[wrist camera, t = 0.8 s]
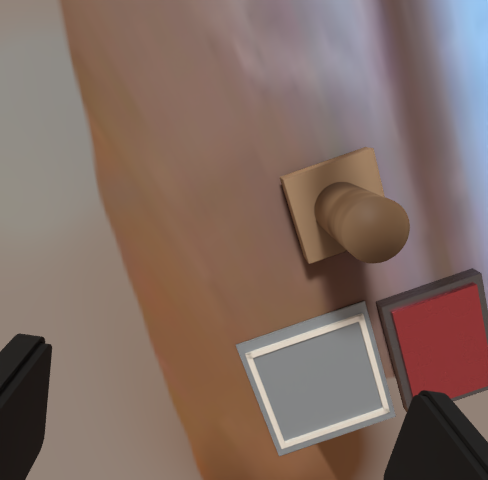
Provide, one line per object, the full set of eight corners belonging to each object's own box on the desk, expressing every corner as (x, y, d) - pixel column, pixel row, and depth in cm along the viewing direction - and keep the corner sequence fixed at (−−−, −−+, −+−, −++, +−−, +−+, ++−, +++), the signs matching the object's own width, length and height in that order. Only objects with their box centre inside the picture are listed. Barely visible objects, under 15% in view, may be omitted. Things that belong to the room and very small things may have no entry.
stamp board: (364, 300, 35) (366, 303, 35) (395, 415, 39) (397, 418, 39) (236, 344, 36) (236, 347, 35) (278, 454, 39) (279, 458, 39)
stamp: (361, 146, 32) (421, 155, 23) (380, 227, 34) (443, 264, 25) (277, 175, 32) (305, 195, 23) (302, 254, 34) (336, 301, 25)
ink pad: (472, 268, 35) (483, 274, 34) (491, 377, 39) (502, 387, 37) (376, 301, 36) (383, 309, 34) (403, 407, 39) (411, 418, 38)
